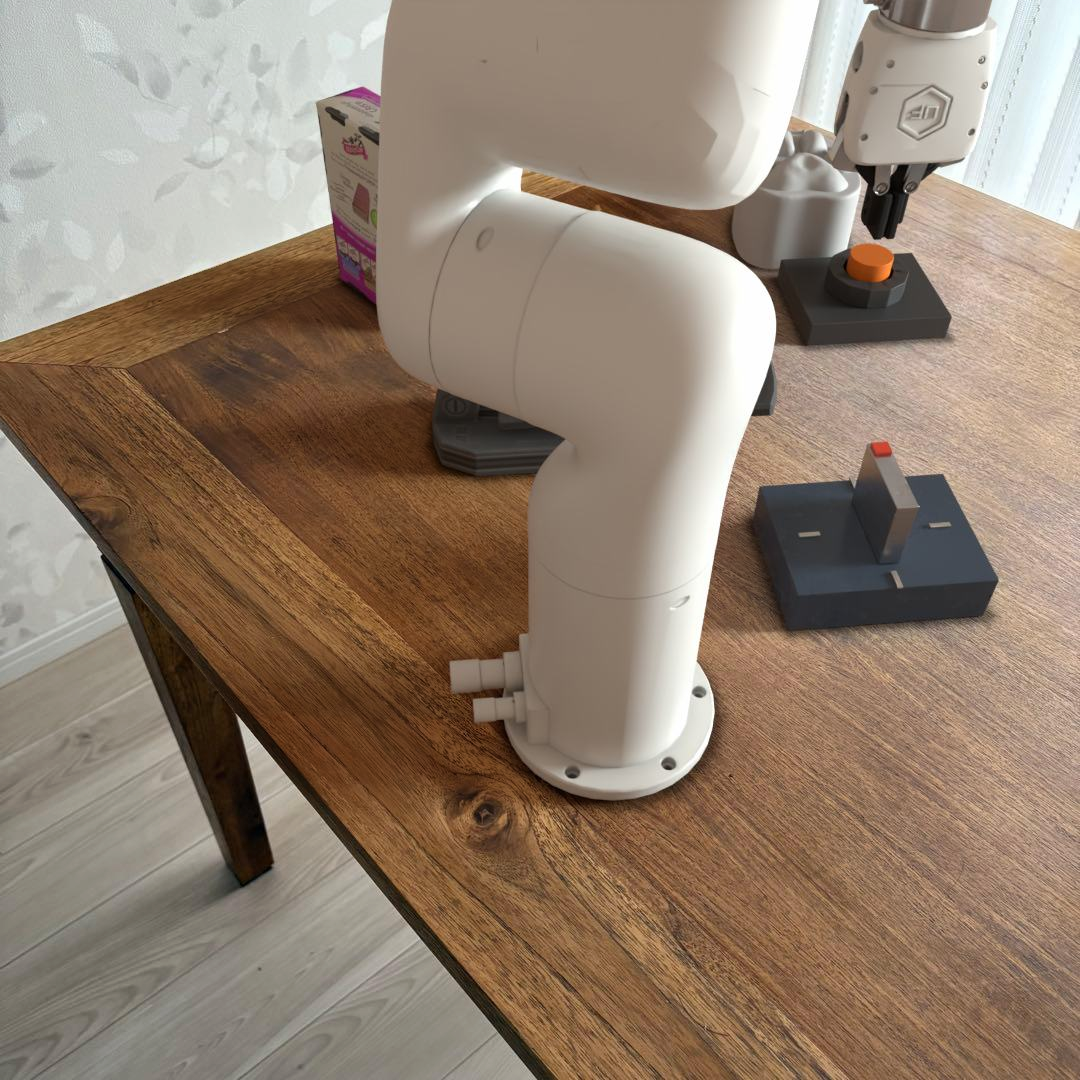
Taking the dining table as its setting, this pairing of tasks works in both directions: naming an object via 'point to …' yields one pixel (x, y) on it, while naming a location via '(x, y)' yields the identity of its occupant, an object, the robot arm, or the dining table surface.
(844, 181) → the lumpy-topped squat cylinder
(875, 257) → the button
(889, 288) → the box
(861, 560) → the lever switch base
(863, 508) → the gray slab
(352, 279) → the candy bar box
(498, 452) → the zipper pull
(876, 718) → the dining table surface
